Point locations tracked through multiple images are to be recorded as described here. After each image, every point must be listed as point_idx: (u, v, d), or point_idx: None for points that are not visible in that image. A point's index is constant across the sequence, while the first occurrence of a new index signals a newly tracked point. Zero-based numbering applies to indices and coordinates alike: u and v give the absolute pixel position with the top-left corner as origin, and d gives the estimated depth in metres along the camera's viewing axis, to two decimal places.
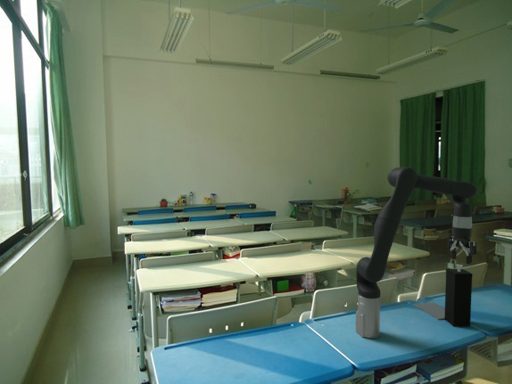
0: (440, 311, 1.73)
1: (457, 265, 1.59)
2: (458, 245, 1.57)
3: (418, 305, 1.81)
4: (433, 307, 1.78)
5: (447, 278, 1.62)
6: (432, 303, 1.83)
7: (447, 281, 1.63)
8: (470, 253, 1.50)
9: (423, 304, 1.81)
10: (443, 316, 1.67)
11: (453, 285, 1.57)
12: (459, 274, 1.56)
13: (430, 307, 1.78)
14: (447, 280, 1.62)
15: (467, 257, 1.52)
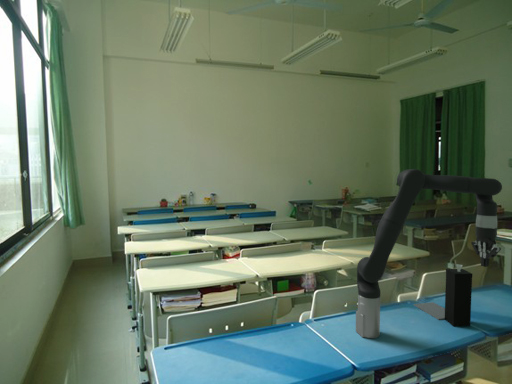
0: (440, 311, 1.73)
1: (457, 265, 1.59)
2: None
3: (418, 305, 1.81)
4: (433, 307, 1.78)
5: (447, 278, 1.62)
6: (432, 303, 1.83)
7: (447, 281, 1.63)
8: (487, 255, 1.43)
9: (423, 304, 1.81)
10: (443, 316, 1.67)
11: (453, 285, 1.57)
12: (459, 274, 1.56)
13: (430, 307, 1.78)
14: (447, 280, 1.62)
15: (484, 260, 1.45)
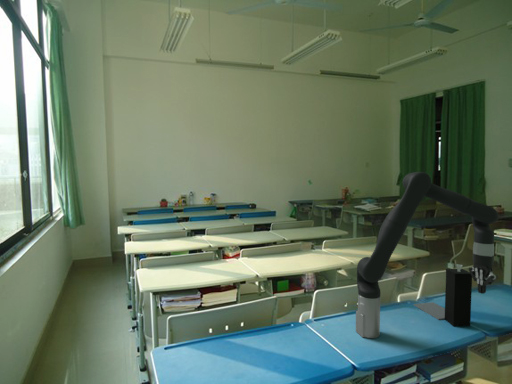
0: (440, 311, 1.73)
1: (457, 265, 1.59)
2: None
3: (418, 305, 1.81)
4: (433, 307, 1.78)
5: (447, 278, 1.62)
6: (432, 303, 1.83)
7: (447, 281, 1.63)
8: (484, 283, 1.44)
9: (423, 304, 1.81)
10: (443, 316, 1.67)
11: (453, 285, 1.57)
12: (459, 274, 1.56)
13: (430, 307, 1.78)
14: (447, 280, 1.62)
15: (481, 286, 1.46)
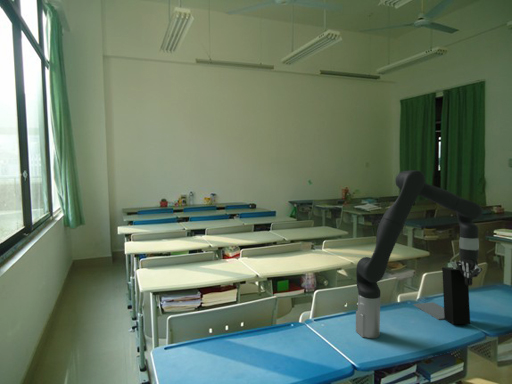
0: (440, 311, 1.73)
1: (452, 262, 1.63)
2: None
3: (418, 305, 1.81)
4: (433, 307, 1.78)
5: (444, 276, 1.65)
6: (432, 303, 1.83)
7: (444, 280, 1.65)
8: (470, 275, 1.52)
9: (423, 304, 1.81)
10: (443, 316, 1.67)
11: (450, 282, 1.60)
12: (455, 270, 1.59)
13: (430, 307, 1.78)
14: (444, 278, 1.65)
15: (467, 279, 1.54)
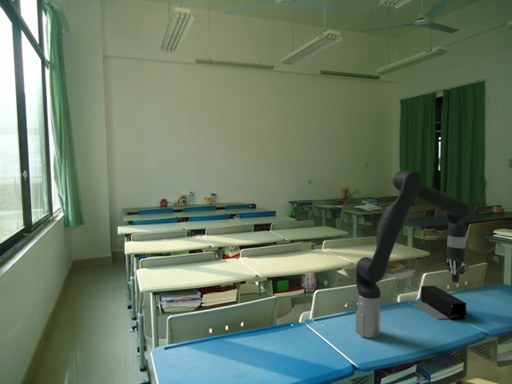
0: None
1: None
2: None
3: (418, 305, 1.81)
4: None
5: (425, 300, 1.84)
6: None
7: (427, 301, 1.82)
8: (457, 272, 1.59)
9: (423, 304, 1.81)
10: (443, 316, 1.67)
11: (427, 291, 1.82)
12: (425, 286, 1.87)
13: (430, 307, 1.78)
14: (426, 300, 1.83)
15: (454, 276, 1.61)
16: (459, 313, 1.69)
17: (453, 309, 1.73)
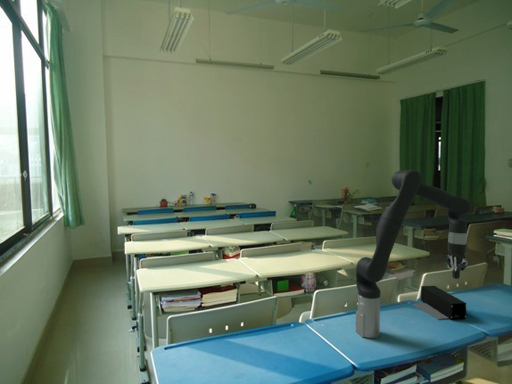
0: None
1: None
2: None
3: (418, 305, 1.81)
4: None
5: (425, 300, 1.84)
6: None
7: (427, 301, 1.82)
8: (458, 269, 1.58)
9: (423, 304, 1.81)
10: (443, 316, 1.67)
11: (427, 291, 1.82)
12: (425, 286, 1.87)
13: (430, 307, 1.78)
14: (426, 300, 1.83)
15: (455, 272, 1.60)
16: (459, 313, 1.69)
17: (453, 309, 1.73)
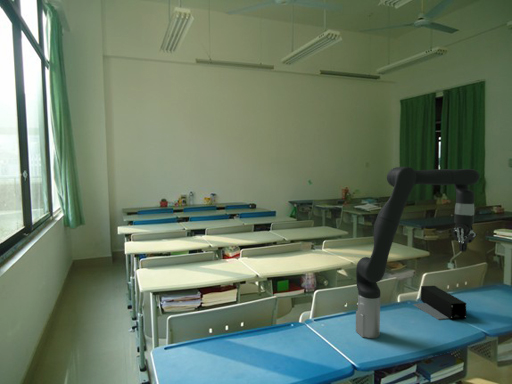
0: None
1: None
2: None
3: (418, 305, 1.81)
4: None
5: (425, 300, 1.84)
6: None
7: (427, 301, 1.82)
8: (465, 241, 1.53)
9: (423, 304, 1.81)
10: (443, 316, 1.67)
11: (427, 291, 1.82)
12: (425, 286, 1.87)
13: (430, 307, 1.78)
14: (426, 300, 1.83)
15: (462, 245, 1.55)
16: (459, 313, 1.69)
17: (453, 309, 1.73)
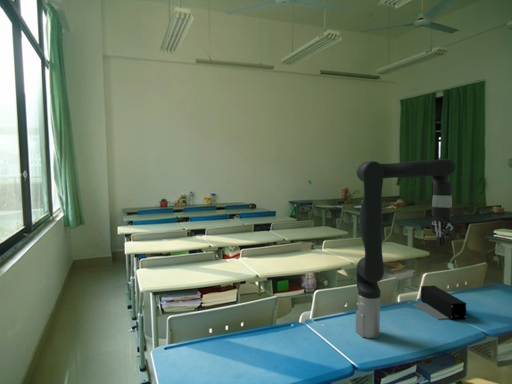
0: None
1: None
2: None
3: (418, 305, 1.81)
4: None
5: (425, 300, 1.84)
6: None
7: (427, 301, 1.82)
8: (442, 234, 1.46)
9: (423, 304, 1.81)
10: (443, 316, 1.67)
11: (427, 291, 1.82)
12: (425, 286, 1.87)
13: (430, 307, 1.78)
14: (426, 300, 1.83)
15: (439, 239, 1.48)
16: (459, 313, 1.69)
17: (453, 309, 1.73)
